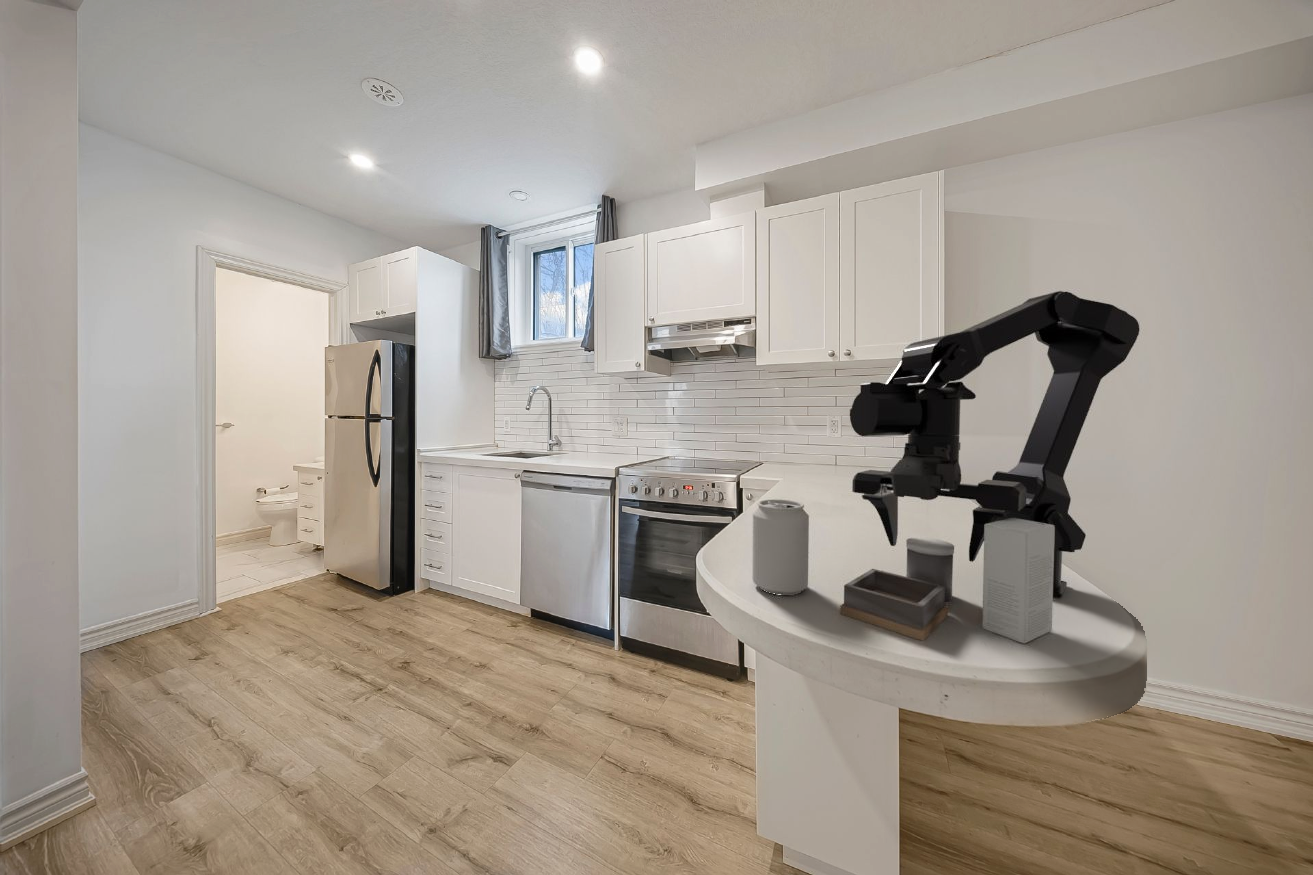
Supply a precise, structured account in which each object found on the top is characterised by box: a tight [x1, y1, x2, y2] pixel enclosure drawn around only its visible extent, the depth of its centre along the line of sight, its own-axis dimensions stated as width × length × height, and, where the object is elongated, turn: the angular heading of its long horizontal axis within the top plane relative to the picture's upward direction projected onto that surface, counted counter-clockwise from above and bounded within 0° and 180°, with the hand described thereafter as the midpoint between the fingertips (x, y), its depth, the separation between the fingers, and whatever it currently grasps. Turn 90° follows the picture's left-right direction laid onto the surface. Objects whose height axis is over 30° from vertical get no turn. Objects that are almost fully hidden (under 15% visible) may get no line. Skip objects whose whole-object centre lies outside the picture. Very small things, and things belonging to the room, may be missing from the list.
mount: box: [839, 568, 949, 642], centre depth 54 cm, size 9×9×4 cm
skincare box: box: [981, 518, 1055, 644], centre depth 49 cm, size 6×4×12 cm
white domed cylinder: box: [905, 537, 955, 604], centre depth 59 cm, size 5×5×7 cm
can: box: [751, 498, 810, 596], centre depth 62 cm, size 8×8×12 cm
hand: (930, 552), depth 59 cm, fingers open, 9 cm apart
